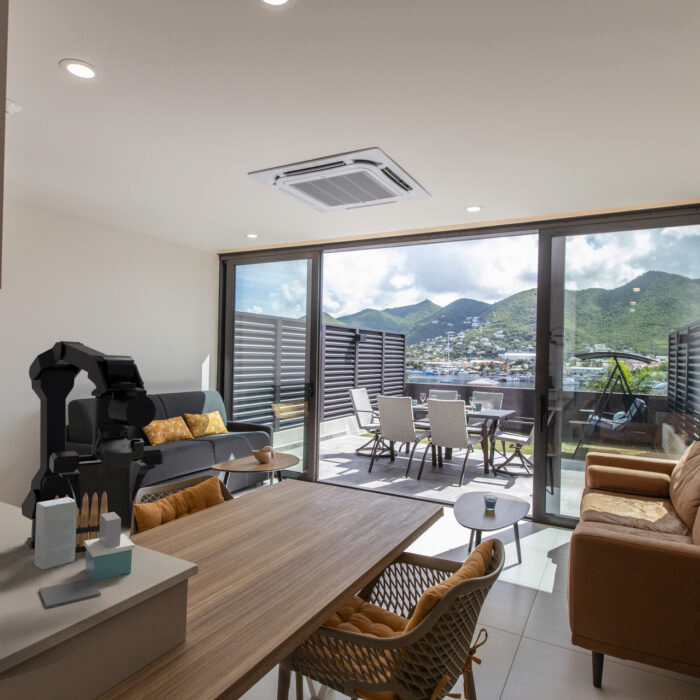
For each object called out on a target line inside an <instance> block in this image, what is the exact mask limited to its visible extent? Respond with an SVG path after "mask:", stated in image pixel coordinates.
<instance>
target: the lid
mask: <svg viewBox="0 0 700 700" xmlns="http://www.w3.org/2000/svg"><path fill="white" fill-rule="evenodd" d="M121 527H122V518H121V517H120V515H118V514H117V513H116V512H115V511H112V512H108V513H103V514H100V530H99V538H98V537H97V539H91V540H85V541H84V546H85V547H86V548H87V550H88V551H89V553H90V554H91V555H92V557H96V556H101V555H107V554H112V553H117V552H122V551H127V550H132V551H133V550H135V548H136V547H135V545H136V544H135V543H134V542H133V541H132V540H131V539H130V537H128V536H127V535H126V533H122V530H121V529H122V528H121Z"/></svg>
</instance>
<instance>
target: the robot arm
mask: <svg viewBox="0 0 700 700" xmlns="http://www.w3.org/2000/svg"><path fill="white" fill-rule="evenodd" d="M82 371H84V372H87V379H88V380H90V381H91V383H93V384H94V386H95V388H94V389H93V390H92V391H90V392H91V393H90V395H91V396H93V397H95V398H94V412H93V413H94V414H93V426H92V430H93V431H92V447H91V454H83V455H79V454H78V453H77V452H76V451H75V450H71V451H69V450H68V451H67V430H66V429H67V397H68V396H69V395H70V393H71V392H72V390H73V389H74V388H75V387H74V386H75V381H76V380H75V378H77V376H78V375H79V374H80V373H81V372H82ZM28 377H29V379H30V384H31V389H32V391H34V393H35V395H36V396H37V398H38V399H39V402H40V406H39V409H40V411H39V412H40V413H39V415H40V417H39V419H40V424H39V427H40V429H39V431H40V432H39V437H40V440H39V441H40V442H39V457H40V459H39V460H40V461H39V469H38V470H37V472H36V473H35V475H34V476H33V478H32V480H31V483H30V490H29V491H28V494H27V495H26V497H25V498H24V501H23V502H22V503H21V508H20V509H21V515H22V516H23V517H25V518H27V519H28V520H31V531H30V533H31V534H30V536H29V537H27V538H26V541H27V543H28V546H29V548H30V549H34V550H35V533H36V504H37V503H38V502H44V501H49V500H55V497H56V496H58V498H59V499H60V498H65V496H66V495H68V497H69V498H72V499H75V502H76V505H77V508H78V509H79V510H80V509H81V508H82V491H81V476H82V475H81V472H80V471H79V470H78V469H79V468H80V467H82V466H83V467H84V466H94V465H101V467H102V468H103V469H104V470H113V469H116V468H117V469H119V468H123V469H128V468H130V467H131V475H130V484H129V485H130V487H129V501H130V502H134V501H135V499H136V496H137V494H138V491H139V489H140V487H141V484H142V482H143V481H144V478H145V477H146V475H147V474H148V473H149V472H150V471H151V470H155V469H156V466H157V465H162V464H163V463H164V453H163V451H162V450H161V449H160V448H159V447H157V446H154V445H145V441H144V439H143V438H132V439H129V431H128V430H129V429H128V427H132V428H134V429H135V428H136V429H143V428H146V427H148V426H149V425H150V424H151V423H152V422H153V421H154V419H155V417H156V414H157V413H156V412H157V408H156V406H155V403H154V401H153V400H152V398H150V397H148V396H147V395H148V394H147V392H148V391H147V389H145V383H144V381H143V379H142V377H141V375H140V372H139V369H138V365H137V363H135V360H134V358H133V357H132V356H129V355H116V354H106V353H103V352H101V351H98V350H96V349H95V348H92V347H89V346H88V345H85V344H84V343H81V342H79V341H67V340H66V341H64V340H59V341H56V342H55V343H54V345H53V346H52V347H51V348H49V349H47V350H45V351H43V352H42V353H39V354H37V356H36V357H35V359H34V360H33V361H32V363H30V365H29V369H28Z"/></svg>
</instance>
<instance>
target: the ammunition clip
mask: <svg viewBox="0 0 700 700" xmlns="http://www.w3.org/2000/svg"><path fill="white" fill-rule="evenodd" d="M66 497H68V495H66V496H65V498H66ZM55 499H59V498H58V496H56V497H55ZM74 500H75V499H74ZM90 506H91V507H90V510H89V497H88V493H87V492H85V493H84V495H83V497H82V500H81V508H79V509H78V508H77V514H76V540H75V554H79V553H86V547H85V546H84V541H85V540H91V539H97V538H99V530H100V514H103V513H109V512H108V511H109V510H108V496H107V492H106V491H103V493H102V495H101V500H100V507H99V499H98V495H97V492H94V493H93V494H92V499H91V505H90ZM99 508H100V510H99ZM80 510H81V511H80Z"/></svg>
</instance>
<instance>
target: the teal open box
mask: <svg viewBox="0 0 700 700" xmlns="http://www.w3.org/2000/svg"><path fill="white" fill-rule="evenodd" d="M132 554H133V549H132V550H127V551H122V552H117V553H112V554H107V555H101V556H96V557H92V555H91V554H90V553H89V551H88V550H87V548H86V552H85V569H84V570H85V571H86V572H87V574H88V575H89V578H90V577H91V578H92V580H93V582H95V581H99V580H100V579H101V580H104V578H105V579H109V578H108V577H110V578H113V577H112V576H114V577H118V576H117V575H119V576H122V575H121V574H123V575H127V574H131V573H132V558H133V557H132V556H133V555H132ZM130 572H131V573H130ZM126 573H127V574H126ZM101 580H100V581H101Z"/></svg>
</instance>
